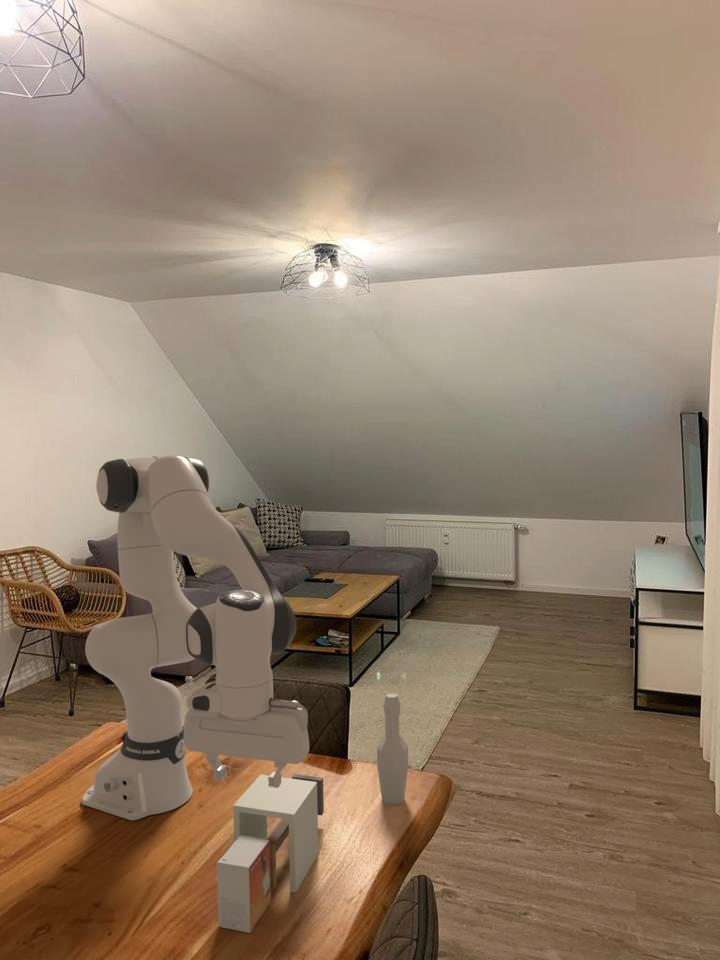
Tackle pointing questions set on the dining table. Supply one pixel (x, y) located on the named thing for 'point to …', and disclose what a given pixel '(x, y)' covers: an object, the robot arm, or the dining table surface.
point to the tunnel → (286, 803)
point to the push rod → (283, 826)
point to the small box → (244, 883)
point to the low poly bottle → (392, 755)
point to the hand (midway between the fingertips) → (247, 782)
